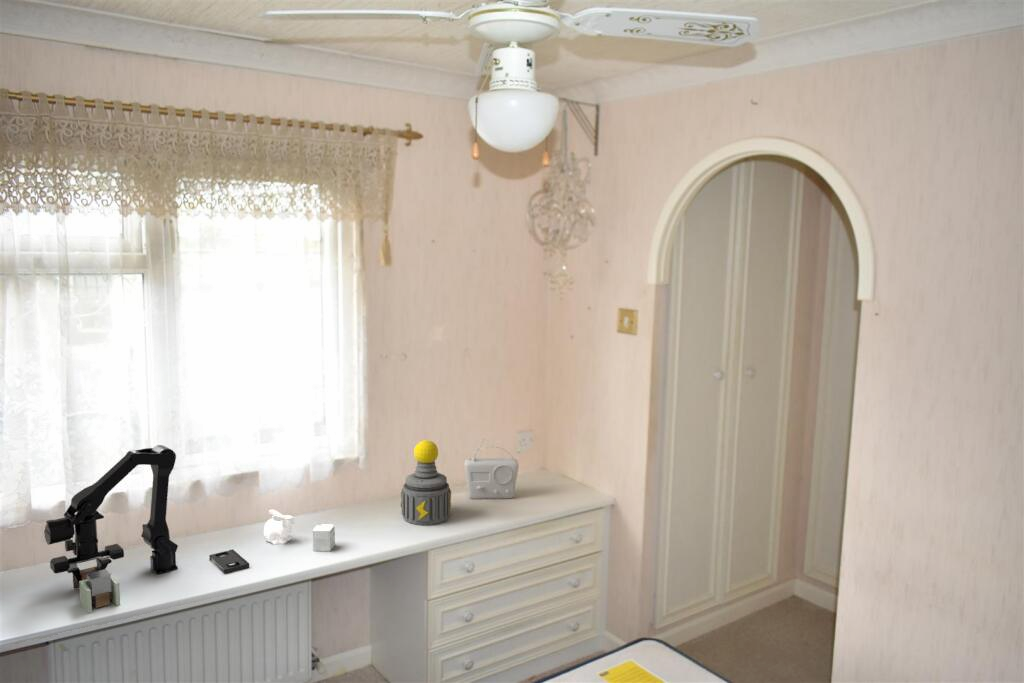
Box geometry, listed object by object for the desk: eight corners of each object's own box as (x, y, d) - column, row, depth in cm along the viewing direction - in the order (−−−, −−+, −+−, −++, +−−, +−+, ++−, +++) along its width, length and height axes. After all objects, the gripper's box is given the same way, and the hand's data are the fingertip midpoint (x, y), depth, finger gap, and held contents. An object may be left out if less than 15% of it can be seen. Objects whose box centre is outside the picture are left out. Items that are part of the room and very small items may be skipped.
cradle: (109, 591, 235) (107, 570, 235) (120, 604, 227) (119, 582, 226) (77, 599, 230) (76, 577, 229) (88, 613, 222) (86, 591, 221)
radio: (464, 500, 319) (465, 440, 316) (464, 494, 327) (464, 435, 324) (518, 500, 321) (519, 440, 318) (516, 493, 329) (517, 435, 326)
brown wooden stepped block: (73, 587, 236) (72, 572, 236) (99, 581, 241) (98, 565, 240) (89, 609, 223) (88, 593, 222) (116, 602, 228) (115, 586, 227)
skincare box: (330, 551, 267) (329, 531, 266) (312, 551, 267) (312, 530, 266) (335, 544, 273) (334, 524, 272) (317, 544, 273) (317, 523, 272)
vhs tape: (209, 560, 259) (208, 554, 259) (233, 554, 264) (232, 549, 264) (224, 575, 248) (224, 569, 248) (249, 569, 253) (249, 563, 253)
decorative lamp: (405, 507, 310) (405, 433, 306) (453, 509, 309) (454, 434, 305) (396, 525, 291) (396, 446, 287) (447, 527, 291) (448, 447, 287)
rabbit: (298, 540, 276) (297, 507, 275) (278, 549, 268) (277, 515, 266) (272, 533, 282) (272, 501, 280) (252, 542, 274) (251, 509, 272)
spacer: (106, 585, 231) (105, 569, 230) (111, 591, 227) (110, 574, 226) (87, 590, 227) (86, 573, 227) (92, 596, 224) (91, 579, 223)
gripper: (112, 520, 246) (115, 568, 248) (44, 535, 234) (47, 585, 236) (123, 530, 238) (125, 580, 240) (53, 546, 225) (56, 598, 227)
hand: (89, 585), depth 236 cm, fingers closed on brown wooden stepped block, 4 cm apart
